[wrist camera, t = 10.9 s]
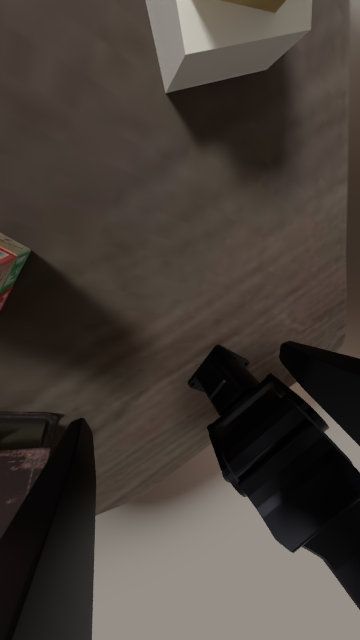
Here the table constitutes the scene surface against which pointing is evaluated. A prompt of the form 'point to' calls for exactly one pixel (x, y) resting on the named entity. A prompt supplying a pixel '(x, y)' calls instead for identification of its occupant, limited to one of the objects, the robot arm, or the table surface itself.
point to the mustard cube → (260, 4)
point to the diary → (21, 457)
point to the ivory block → (221, 38)
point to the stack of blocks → (10, 264)
